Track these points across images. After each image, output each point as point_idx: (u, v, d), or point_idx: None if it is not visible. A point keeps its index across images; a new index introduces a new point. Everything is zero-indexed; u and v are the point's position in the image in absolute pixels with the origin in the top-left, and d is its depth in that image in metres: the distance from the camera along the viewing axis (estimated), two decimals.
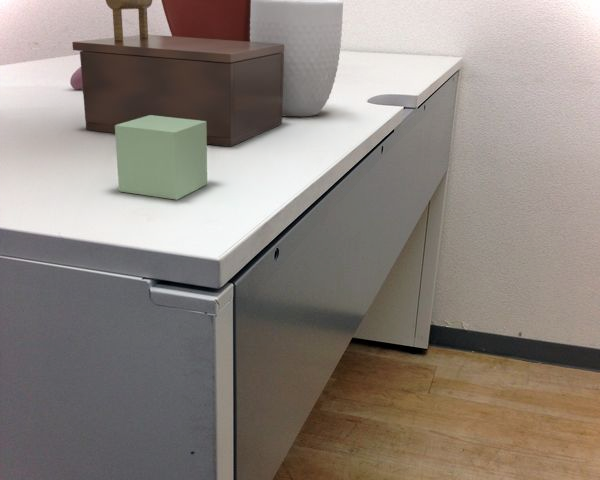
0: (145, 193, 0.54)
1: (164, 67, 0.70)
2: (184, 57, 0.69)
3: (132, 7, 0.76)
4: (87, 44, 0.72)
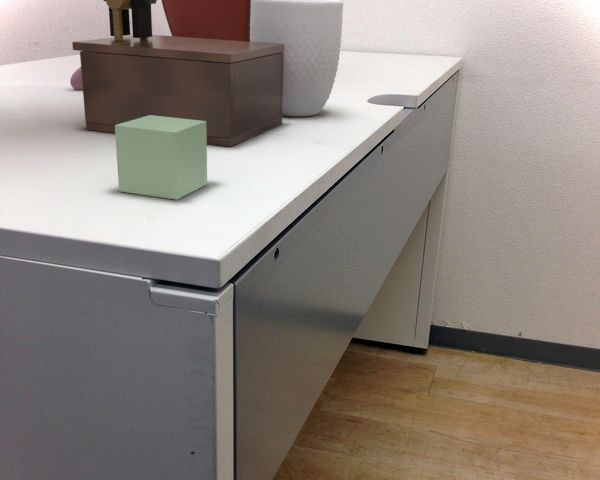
0: (145, 193, 0.54)
1: (164, 67, 0.70)
2: (184, 57, 0.69)
3: None
4: (87, 44, 0.72)
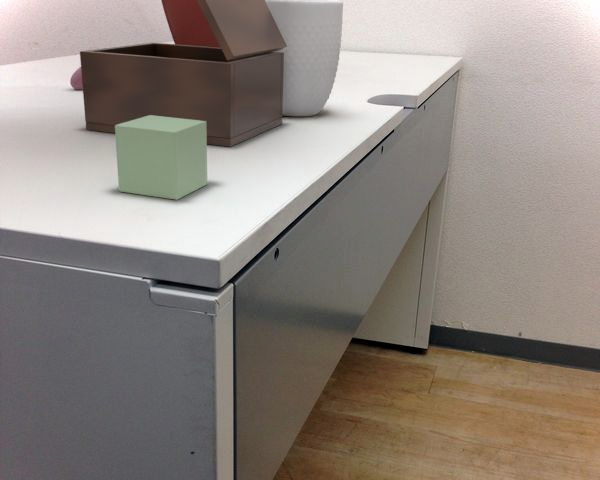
0: (145, 193, 0.54)
1: (164, 67, 0.70)
2: (203, 11, 0.67)
3: None
4: None
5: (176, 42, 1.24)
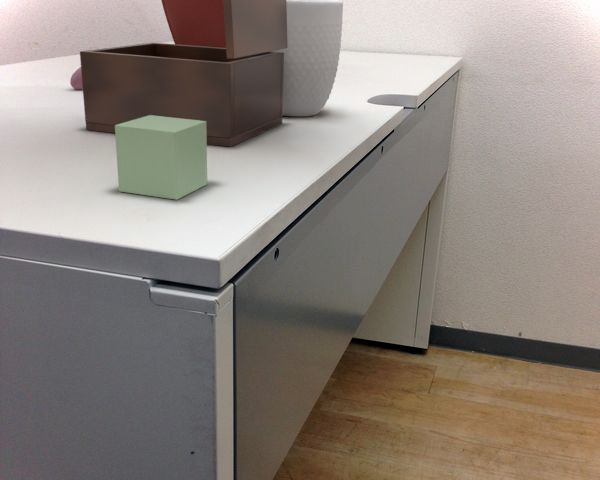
0: (145, 193, 0.54)
1: (164, 67, 0.70)
2: (224, 3, 0.66)
3: None
4: None
5: (176, 42, 1.24)
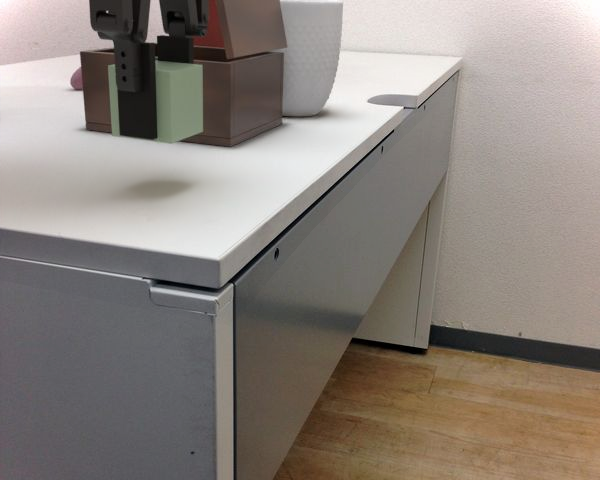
0: None
1: None
2: (217, 4, 0.66)
3: None
4: None
5: None
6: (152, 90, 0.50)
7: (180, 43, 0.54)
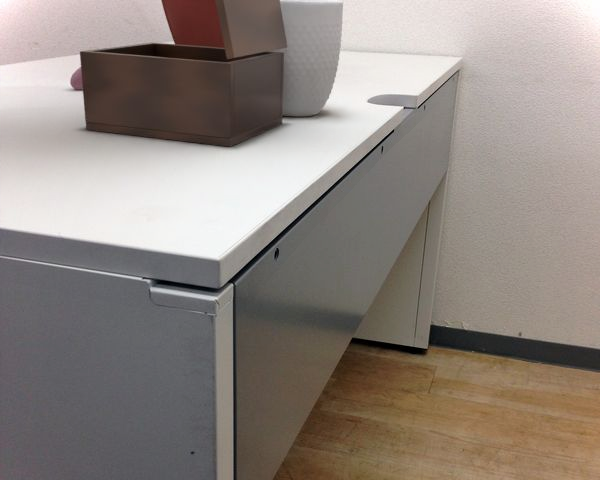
0: None
1: (164, 67, 0.70)
2: (217, 4, 0.66)
3: None
4: None
5: (176, 42, 1.24)
6: None
7: None
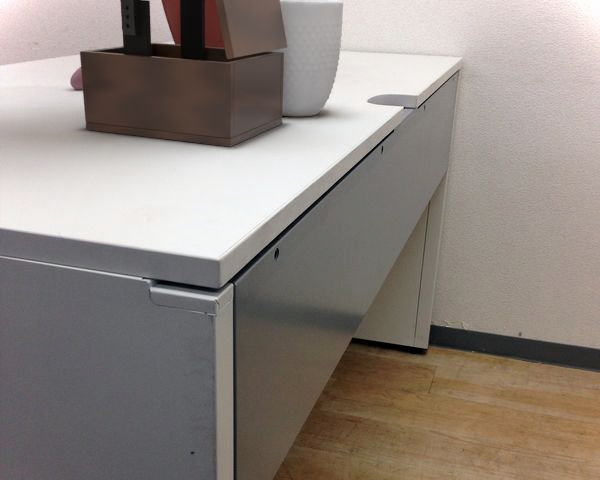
0: None
1: (164, 67, 0.70)
2: (217, 4, 0.66)
3: None
4: None
5: (176, 42, 1.24)
6: (147, 34, 0.70)
7: (196, 2, 0.80)
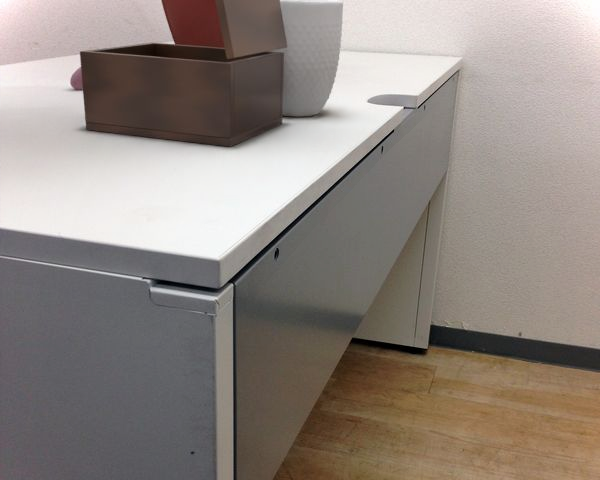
0: None
1: (164, 67, 0.70)
2: (217, 4, 0.66)
3: None
4: None
5: (176, 42, 1.24)
6: None
7: None
